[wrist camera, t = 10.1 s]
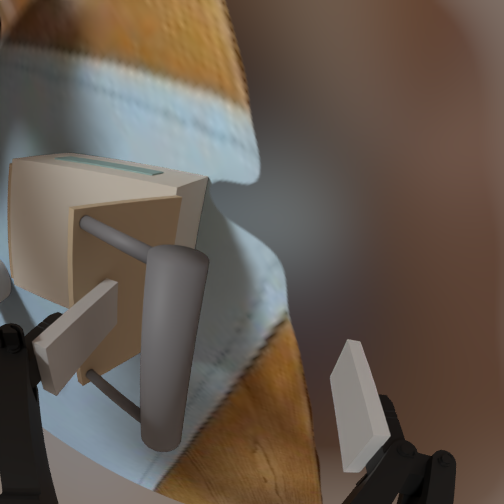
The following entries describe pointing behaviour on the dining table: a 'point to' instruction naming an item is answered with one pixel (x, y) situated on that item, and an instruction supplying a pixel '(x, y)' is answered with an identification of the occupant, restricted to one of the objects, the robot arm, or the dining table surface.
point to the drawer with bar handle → (141, 304)
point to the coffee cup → (4, 282)
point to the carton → (75, 194)
